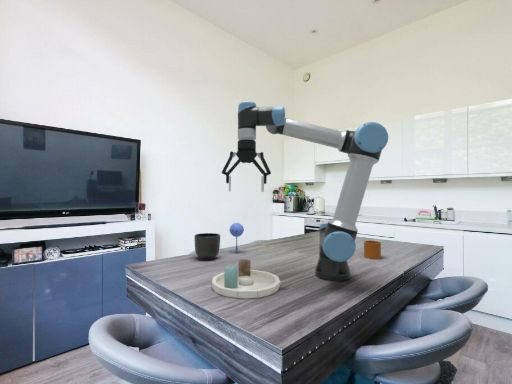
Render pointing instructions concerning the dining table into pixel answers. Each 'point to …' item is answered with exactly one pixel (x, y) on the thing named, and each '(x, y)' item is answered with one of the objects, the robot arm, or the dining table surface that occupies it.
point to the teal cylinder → (230, 277)
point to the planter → (207, 245)
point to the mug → (372, 249)
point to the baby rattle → (236, 232)
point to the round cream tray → (248, 285)
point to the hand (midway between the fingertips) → (246, 191)
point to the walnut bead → (244, 268)
